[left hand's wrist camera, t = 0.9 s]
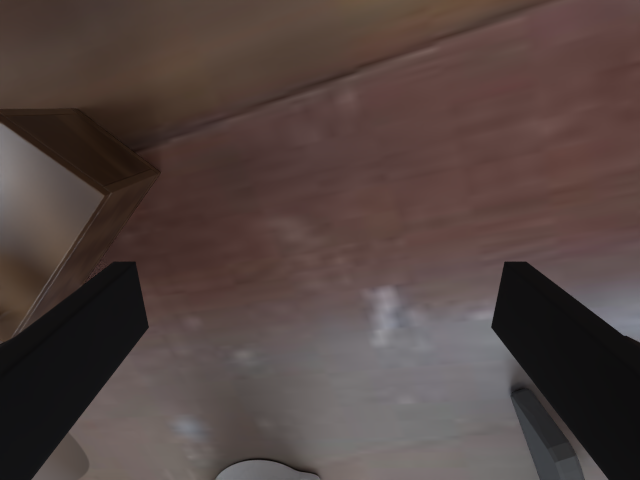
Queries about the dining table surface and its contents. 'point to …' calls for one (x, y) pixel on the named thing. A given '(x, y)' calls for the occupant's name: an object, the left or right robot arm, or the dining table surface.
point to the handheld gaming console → (545, 440)
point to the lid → (37, 221)
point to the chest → (101, 166)
